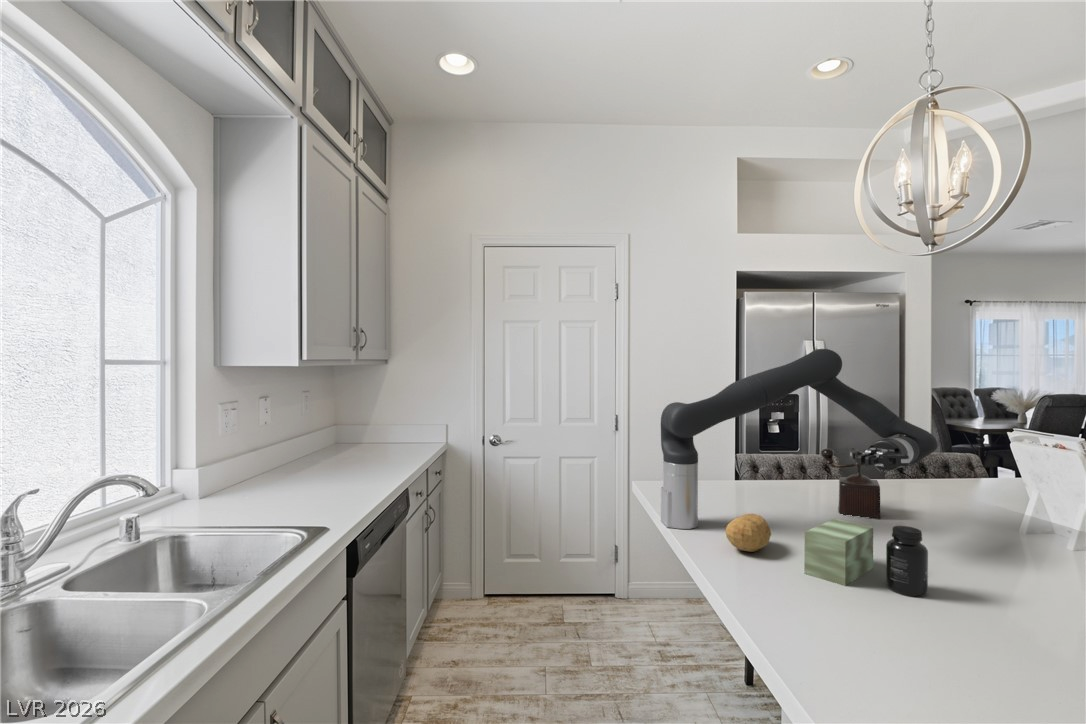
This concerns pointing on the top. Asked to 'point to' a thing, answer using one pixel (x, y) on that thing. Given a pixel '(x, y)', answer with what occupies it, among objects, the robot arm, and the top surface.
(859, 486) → the wooden coffee grinder
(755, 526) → the potato
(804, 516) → the top surface
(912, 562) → the supplement bottle
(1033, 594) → the top surface
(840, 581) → the sage-green block
